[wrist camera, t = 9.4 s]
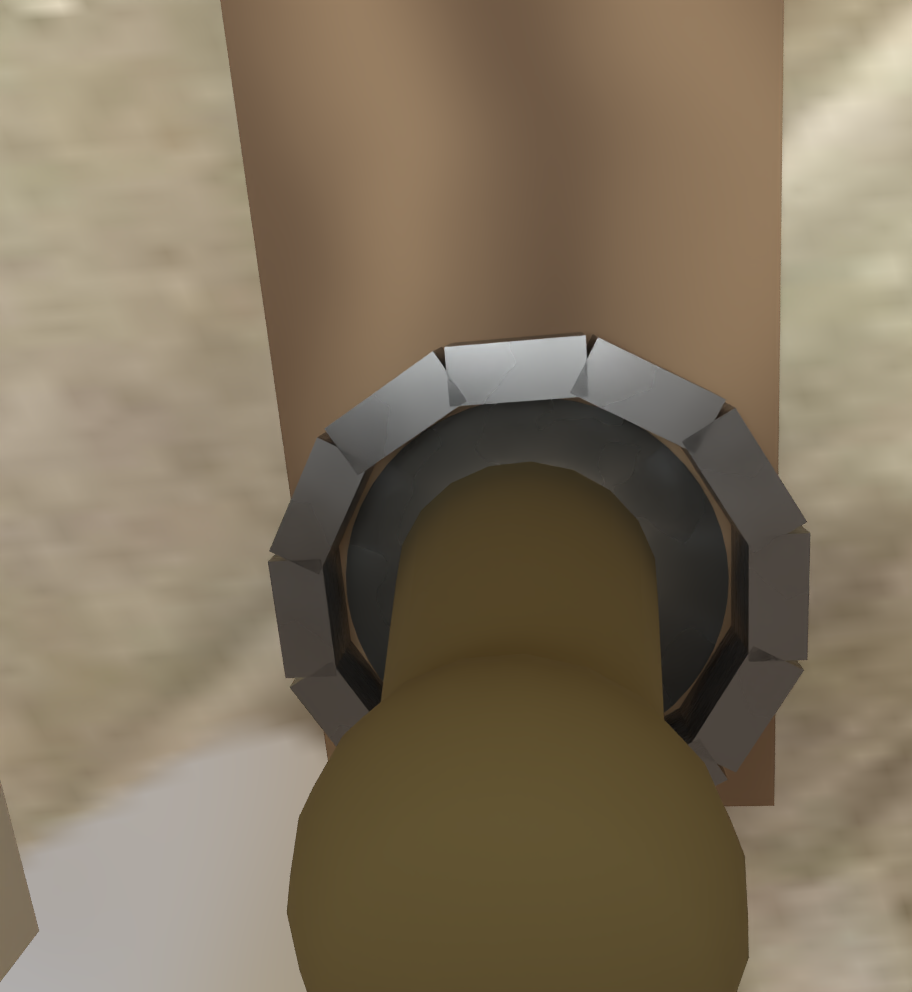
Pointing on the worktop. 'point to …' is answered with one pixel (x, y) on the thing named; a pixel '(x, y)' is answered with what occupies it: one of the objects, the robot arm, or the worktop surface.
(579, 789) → the cork
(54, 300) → the worktop surface
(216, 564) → the worktop surface
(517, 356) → the ring holder
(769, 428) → the walnut board
